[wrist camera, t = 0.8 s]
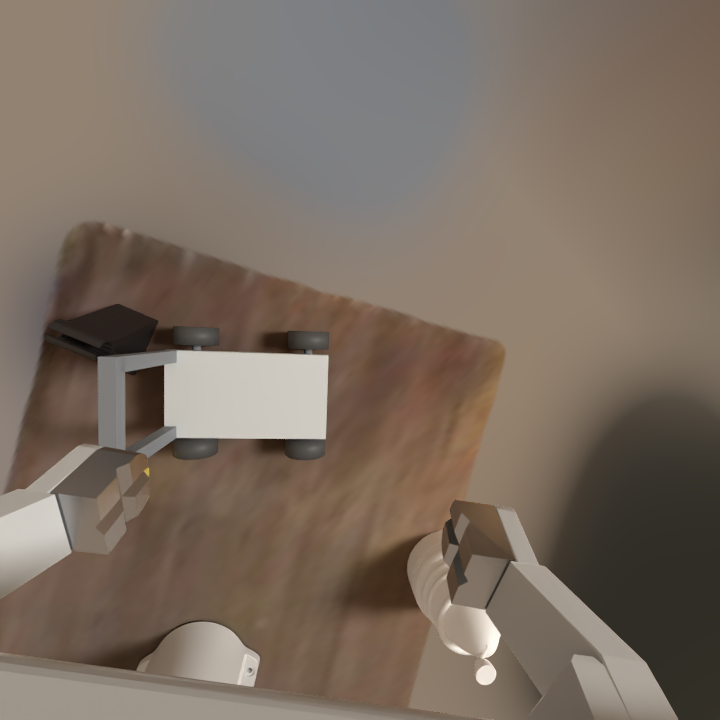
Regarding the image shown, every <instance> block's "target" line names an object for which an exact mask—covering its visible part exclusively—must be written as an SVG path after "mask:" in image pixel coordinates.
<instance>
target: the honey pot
mask: <svg viewBox="0 0 720 720" xmlns="http://www.w3.org/2000/svg"><path fill="white" fill-rule="evenodd" d="M442 531H443V530H441V531H437V532H434V533H431V534H429V535H427V536H426V537H424V538H422V539H421V540H420V541H419V542H418V543H417V544H416V545H415V547H414V548H413V550H412V552H411V553H410V556H409V559H408V563H407V574H408V578H409V582H410V585H411V588H412V591H413V594H414V596H415V599H416V602H417V604H418V606H419V608H420V609H421V611H422V612H423V614H424V615H425V616H426V617H427V618H429V620H430V621H431V622H432V623H433V625H434V626H435V627H436V628H437V629H438V634H439V636H440V638H441V640H442V642H443V643H444V644H445V645H446V646H447V647H448V648H449V649H450V650H452V651H454V652H456V653H458V654H464V655H473V656H476V657H477V659H476V661H475V664H474V673H475V677H476V679H477V681H478V682H479V683H480V684H482V685H487V684H490V683H492V682H493V681H494V679H495V677H496V670H495V669H494V667H493V666H492V664H491V663H490V662H489V661H488V660H486V659H484V658H486V657H489V656H491V655H492V654H493V653H494V652H495V650H496V648H497V646H498V642H499V638H500V636H501V634H500V633H499V631H498V630H497V628H496V627H495V625H494V624H493V623H492V621H491V620H490V618H489V617H488V615H487V614H486V612H485V611H486V610H483V609H477V608H472V607H466V606H460V605H455V604H451V599H450V594H449V589H448V583H447V578H446V577H447V574H448V571H449V569H450V568H449V566H448V565H447V564H446V563H445V562H444V560H443V555H442V544H441V541H442Z"/></svg>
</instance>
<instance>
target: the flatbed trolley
mask: <svg viewBox="0 0 720 720" xmlns="http://www.w3.org/2000/svg"><path fill="white" fill-rule="evenodd" d="M328 343H329V332H306V331H288V348H292V349H304V354H292V353H261V352H231V351H201V346H216V345H219V328H204V327H179V326H173V344H175V345H192V350H161V351H150V352H140V353H130V354H120V355H109V356H99V357H98V436H99V446H102V447H110V448H116V449H121V450H127V451H133V452H138V453H143V454H145V455H146V456H147V458H149V457H150V456H151V455H153V454H154V453H156V452H157V451H159V450H160V449H161V448H163V447H164V446H166V445H167V444H169V443H170V442H171V441H173V456H174V457H175V458H177V459H182V460H196V459H203V458H207V457H210V456H213V455H215V454H216V453H217V452H218V438H247V439H285V455H286V456H287V457H289V458H291V459H296V460H313V459H317V458H320V457H322V456H324V455H325V439H326V416H327V386H328V355H322V354H312V349H315V350H326V349H328ZM160 365H164V427H162V428H160V429H159V430H157V431H155V432H153V433H152V434H150V435H148V436H146V437H145V438H143V439H141V440H140V441H138V442H136V443H134V444H133V445H131V446H129V447H127V448H126V449H125V372H128V371H134V370H139V369H144V368H150V367H155V366H160Z"/></svg>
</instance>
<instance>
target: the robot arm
mask: <svg viewBox="0 0 720 720" xmlns="http://www.w3.org/2000/svg"><path fill="white" fill-rule="evenodd" d="M147 466H148V461H147V456H146V455H145V454H143V453H138V452H133V451H127V450H121V449H116V448H110V447H102V446H96V445H91V444H82V445H79V446H77V447H76V448H75V449H73V450H72V451H71V452H70V453H69V454H67V455H66V456H65V457H64V458H63V459H61V460H60V461H59V462H58V463H57V464H55V465H54V466H53V467H52V468H51V469H49V470H48V471H47V472H46V473H45V474H43V475H42V476H41V477H40V478H39V479H37V480H36V481H35V482H34V483H33V484H31V485H30V486H29V487H28V488H27V489H25V490H23V489H17V490H14V491H12V492H9V493H7V494H4V495H2V496H0V599H1V598H3V597H5V596H6V595H8V594H9V593H11V592H12V591H14V590H15V589H17V588H18V587H20V586H21V585H23V584H24V583H26V582H27V581H29V580H30V579H32V578H34V577H35V576H37V575H38V574H40V573H41V572H43V571H44V570H46V569H47V568H49V567H50V566H52V565H53V564H55V563H56V562H58V561H59V560H61V559H63V558H64V557H66V556H67V555H69V554H70V553H71V550H72V551H81V552H90V553H99V554H107V555H108V554H109V553H110V552H111V551H112V549H113V548H114V547H115V545H116V544H117V543H118V541H119V540H120V539H121V537H122V536H123V535H124V533H125V532H126V531H127V529H126V522H127V521H129V520H131V519H132V518H134V517H136V516H138V515H139V513H140V512H141V510H142V509H143V508H144V506H145V504H146V502H147V499H148V497H149V494H150V488H151V483H150V478H149V477H148V475H147V474H146V473H145V472H144V470H145V468H146V467H147ZM450 514H451V519H449V520H448V521H446V522H445V525H444V528H443V531H442V541H441V544H442V555H443V560H444V562H445V563H446V564H447V565H448V566H449V568H450V569H449V571H448V574H447V577H446V578H447V583H448V589H449V594H450V599H451V604H455V605H460V606H466V607H472V608H477V609H483V610H486V611H485V612H486V614H487V615H488V617H489V618H490V620H491V621H492V623H493V624H494V625H495V627H496V628H497V630H498V631H499V633H500V634H501V636H502V637H503V638H504V640H505V642H506V643H507V644H508V646H509V648H510V649H511V650H512V652H513V653H514V655H515V656H516V658H517V659H518V661H519V662H520V664H521V665H522V667H523V668H524V669H525V671H526V672H527V674H528V675H529V677H530V678H531V680H532V681H533V683H534V684H535V686H536V687H537V689H538V690H539V692H540V693H541V694H542V696H543V697H542V698H541V699H540V701H539V702H538V704H537V705H536V706H535V708H534V709H533V710H532V712H531V713H530V715H529V716H528V718H527V720H678V718H677V716H676V715H675V713H674V711H673V709H672V708H671V706H670V704H669V702H668V701H667V699H666V697H665V695H664V694H663V692H662V690H661V688H660V687H659V685H658V683H657V681H656V680H655V678H654V677H653V674H652V673H651V671H650V669H649V667H648V666H647V664H646V662H644V660H642V659H641V658H640V657H639V656H638V655H637V654H636V653H635V652H634V651H633V650H632V649H631V648H630V647H629V646H628V645H627V644H626V643H625V642H624V641H623V640H621V638H619V637H618V636H617V635H616V634H615V633H614V632H613V631H612V630H611V629H610V628H609V627H608V626H607V625H606V624H605V623H604V622H603V621H602V620H600V619H599V618H598V617H597V616H596V615H595V614H594V613H593V612H592V611H591V610H590V609H589V608H588V607H587V606H586V605H585V604H584V603H583V602H582V601H581V600H580V599H579V598H577V596H575V595H574V594H573V593H572V592H571V591H570V590H569V589H568V588H567V587H566V586H565V585H564V584H563V583H562V582H561V581H560V580H559V579H558V578H557V577H556V576H555V575H554V574H552V573H551V572H550V571H549V570H548V569H547V568H546V567H545V566H540V565H539V564H538V563H537V560H536V557H535V555H534V553H533V551H532V548H531V546H530V544H529V542H528V539H527V537H526V535H525V533H524V530H523V528H522V526H521V523H520V521H519V519H518V517H517V514H516V512H515V511H514V510H513V509H512V508H510V507H502V506H495V505H488V504H480V503H474V502H467V501H459V500H455V501H454V502H453V503H452V505H451V508H450ZM259 662H260V657H259V655H258V654H257V653H255V652H254V651H252V650H250V649H248V648H246V647H245V646H244V645H243V644H242V642H241V641H240V640H239V638H238V637H237V636H236V635H235V634H234V633H233V632H232V631H231V630H229V629H228V628H226V627H224V626H222V625H219V624H216V623H212V622H193V623H189V624H186V625H183V626H181V627H179V628H177V629H175V630H173V631H172V632H171V633H169V634H168V635H167V636H166V637H165V638H164V639H163V640H162V642H161V643H160V645H159V646H158V647H157V649H156V650H155V651H154V652H153V653H151V654H149V655H148V656H146V657H145V658H143V659H142V660H141V661H140V663H139V665H138V667H137V670H136V671H133V670H126V669H118V668H111V667H104V666H96V665H89V664H82V663H74V662H67V661H59V660H52V659H45V658H37V657H30V656H23V655H15V654H8V653H1V652H0V720H491V719H484V718H476V717H469V716H461V715H455V714H447V713H440V712H433V711H425V710H418V709H411V708H403V707H396V706H389V705H382V704H374V703H367V702H360V701H352V700H345V699H338V698H331V697H323V696H316V695H309V694H301V693H294V692H287V691H279V690H272V689H265V688H258V687H254V684H255V679H256V675H257V671H258V666H259ZM249 668H252V669H249Z"/></svg>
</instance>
